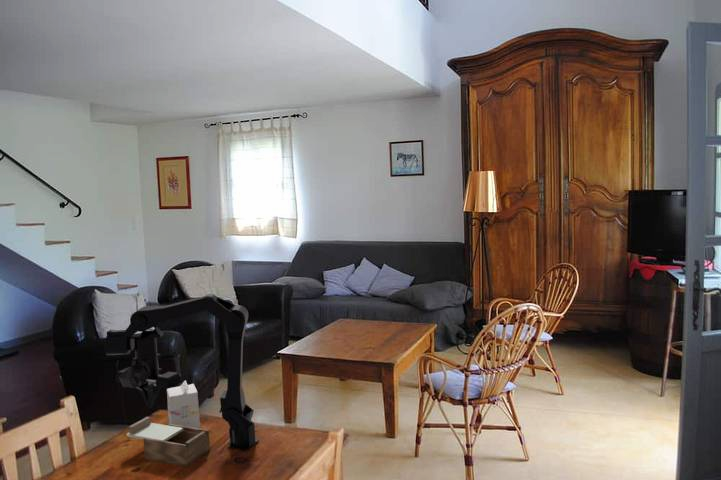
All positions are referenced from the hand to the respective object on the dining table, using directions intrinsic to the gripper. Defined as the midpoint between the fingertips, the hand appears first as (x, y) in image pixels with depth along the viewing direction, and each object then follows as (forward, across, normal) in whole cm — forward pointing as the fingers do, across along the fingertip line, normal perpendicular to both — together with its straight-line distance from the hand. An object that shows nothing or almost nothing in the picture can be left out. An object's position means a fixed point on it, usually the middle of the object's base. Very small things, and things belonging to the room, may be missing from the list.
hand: (150, 407), depth 163 cm
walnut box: (+13, +8, 0) cm, 15 cm away
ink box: (+13, -3, +16) cm, 21 cm away
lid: (+7, +1, 0) cm, 8 cm away
